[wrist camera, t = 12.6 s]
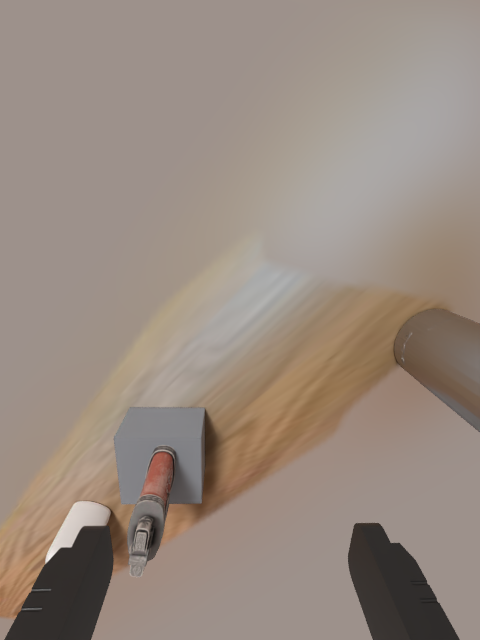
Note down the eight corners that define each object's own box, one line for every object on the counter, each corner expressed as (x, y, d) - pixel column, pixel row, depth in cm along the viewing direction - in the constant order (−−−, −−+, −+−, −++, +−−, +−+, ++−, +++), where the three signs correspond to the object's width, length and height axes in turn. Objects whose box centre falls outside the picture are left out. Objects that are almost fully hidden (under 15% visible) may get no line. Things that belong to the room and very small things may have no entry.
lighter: (170, 499, 38) (151, 592, 28) (143, 495, 37) (114, 588, 28) (180, 447, 35) (162, 529, 26) (151, 443, 35) (122, 525, 25)
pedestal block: (204, 407, 41) (200, 437, 35) (205, 466, 44) (201, 503, 38) (129, 407, 40) (113, 437, 35) (135, 467, 43) (121, 504, 38)
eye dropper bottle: (96, 526, 47) (54, 625, 35) (68, 506, 45) (14, 602, 34) (116, 512, 46) (79, 608, 34) (88, 491, 44) (39, 584, 33)
